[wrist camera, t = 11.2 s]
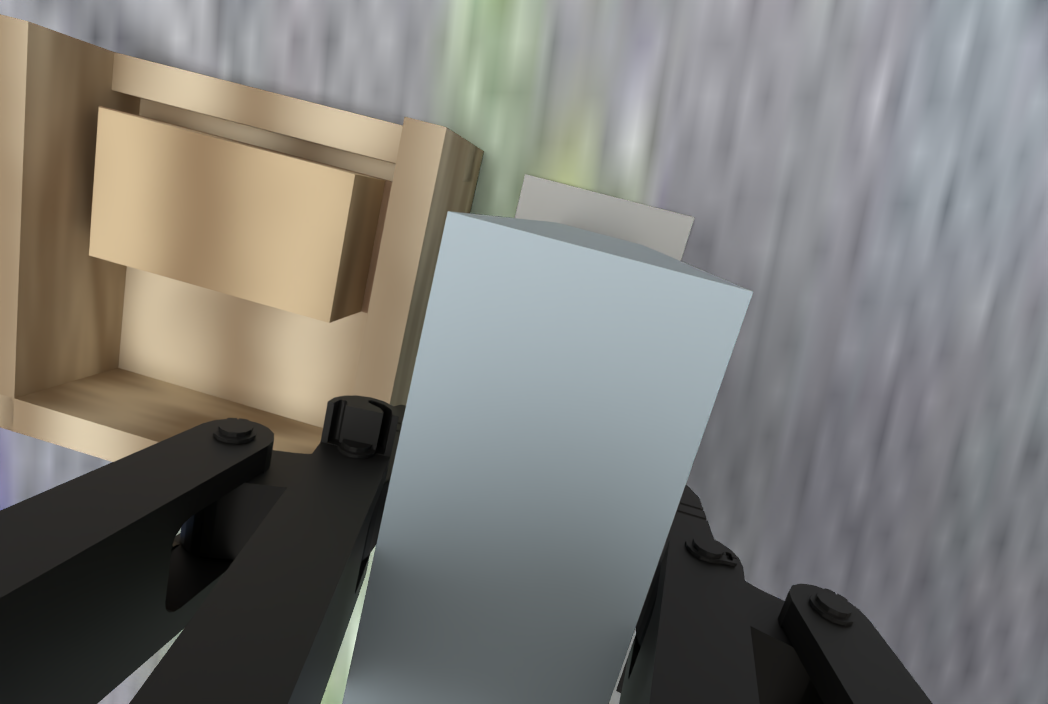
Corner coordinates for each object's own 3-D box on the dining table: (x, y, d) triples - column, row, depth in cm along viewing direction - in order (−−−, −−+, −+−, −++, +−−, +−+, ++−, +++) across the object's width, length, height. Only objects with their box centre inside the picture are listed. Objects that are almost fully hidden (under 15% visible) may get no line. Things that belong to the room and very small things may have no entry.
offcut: (385, 180, 21) (355, 174, 18) (361, 311, 22) (329, 322, 20) (159, 121, 22) (98, 107, 19) (147, 252, 23) (89, 255, 20)
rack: (483, 151, 24) (446, 127, 18) (412, 472, 28) (361, 538, 22) (131, 61, 25) (-10, 11, 19) (106, 381, 29) (-20, 421, 23)
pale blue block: (568, 490, 25) (511, 981, 9) (492, 468, 26) (299, 905, 9) (642, 244, 23) (753, 291, 6) (556, 222, 23) (447, 210, 7)
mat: (692, 217, 23) (694, 217, 23) (597, 517, 27) (597, 523, 26) (527, 175, 24) (525, 173, 23) (454, 474, 27) (451, 480, 27)
